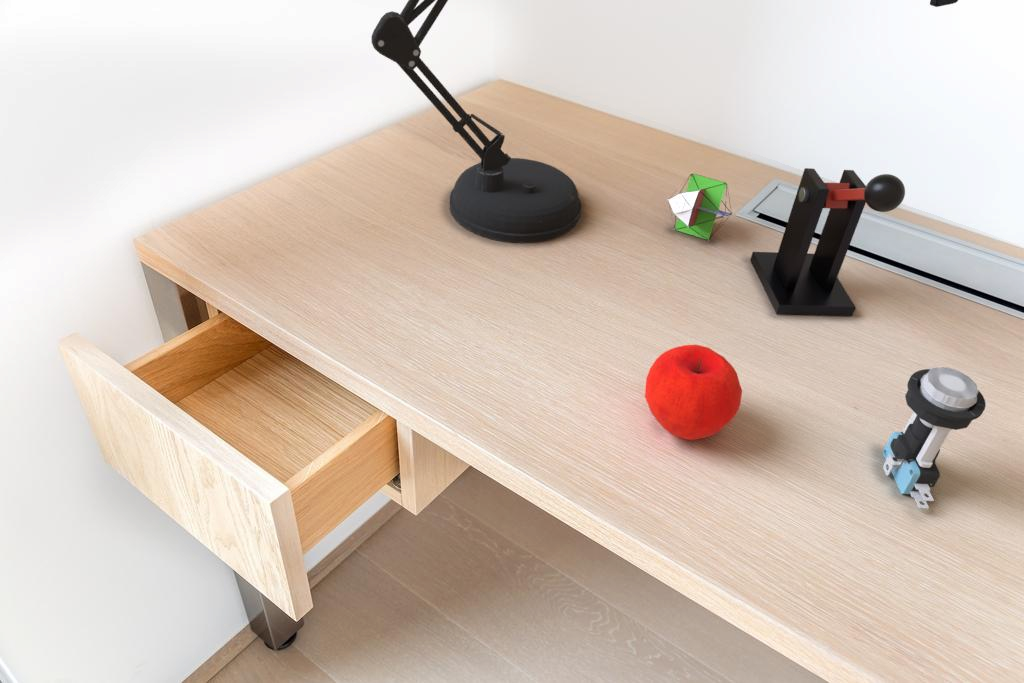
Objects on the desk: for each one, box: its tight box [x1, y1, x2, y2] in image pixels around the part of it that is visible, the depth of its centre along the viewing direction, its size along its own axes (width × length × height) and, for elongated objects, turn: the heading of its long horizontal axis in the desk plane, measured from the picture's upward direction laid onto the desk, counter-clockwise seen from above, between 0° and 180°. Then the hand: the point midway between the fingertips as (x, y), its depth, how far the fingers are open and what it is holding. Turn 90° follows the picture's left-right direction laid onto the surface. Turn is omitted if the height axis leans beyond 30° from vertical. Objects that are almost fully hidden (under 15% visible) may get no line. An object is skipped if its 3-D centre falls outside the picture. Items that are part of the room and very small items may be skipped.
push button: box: [882, 366, 987, 510], centre depth 61 cm, size 7×5×10 cm
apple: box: [644, 344, 743, 441], centre depth 65 cm, size 8×8×7 cm
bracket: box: [749, 167, 867, 317], centre depth 81 cm, size 10×8×13 cm
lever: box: [823, 173, 906, 213], centre depth 73 cm, size 13×3×3 cm, turn 3°
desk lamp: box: [371, 0, 582, 244], centre depth 81 cm, size 24×26×45 cm
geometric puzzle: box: [667, 172, 733, 242], centre depth 91 cm, size 7×7×8 cm
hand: (997, 21), depth 63 cm, fingers open, 9 cm apart
